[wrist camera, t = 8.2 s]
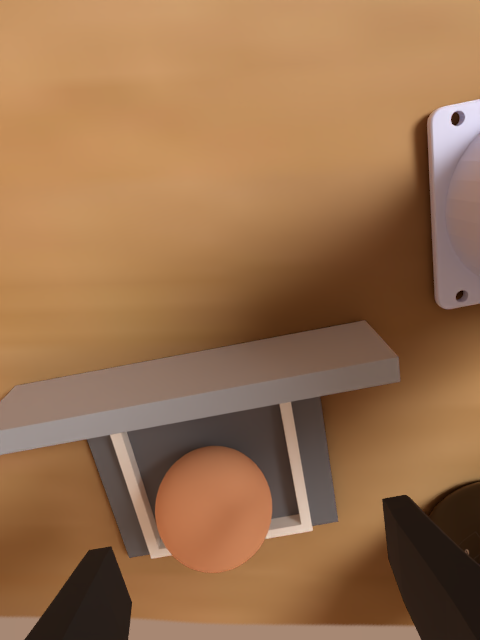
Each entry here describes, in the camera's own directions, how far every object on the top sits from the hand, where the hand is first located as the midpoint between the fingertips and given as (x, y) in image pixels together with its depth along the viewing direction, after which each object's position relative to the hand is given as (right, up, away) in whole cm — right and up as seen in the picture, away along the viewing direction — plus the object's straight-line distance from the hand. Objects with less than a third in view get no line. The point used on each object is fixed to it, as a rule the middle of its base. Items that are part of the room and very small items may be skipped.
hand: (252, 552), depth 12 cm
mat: (-2, -1, +10) cm, 10 cm away
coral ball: (-1, -2, +7) cm, 8 cm away
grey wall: (-3, +4, +8) cm, 10 cm away
